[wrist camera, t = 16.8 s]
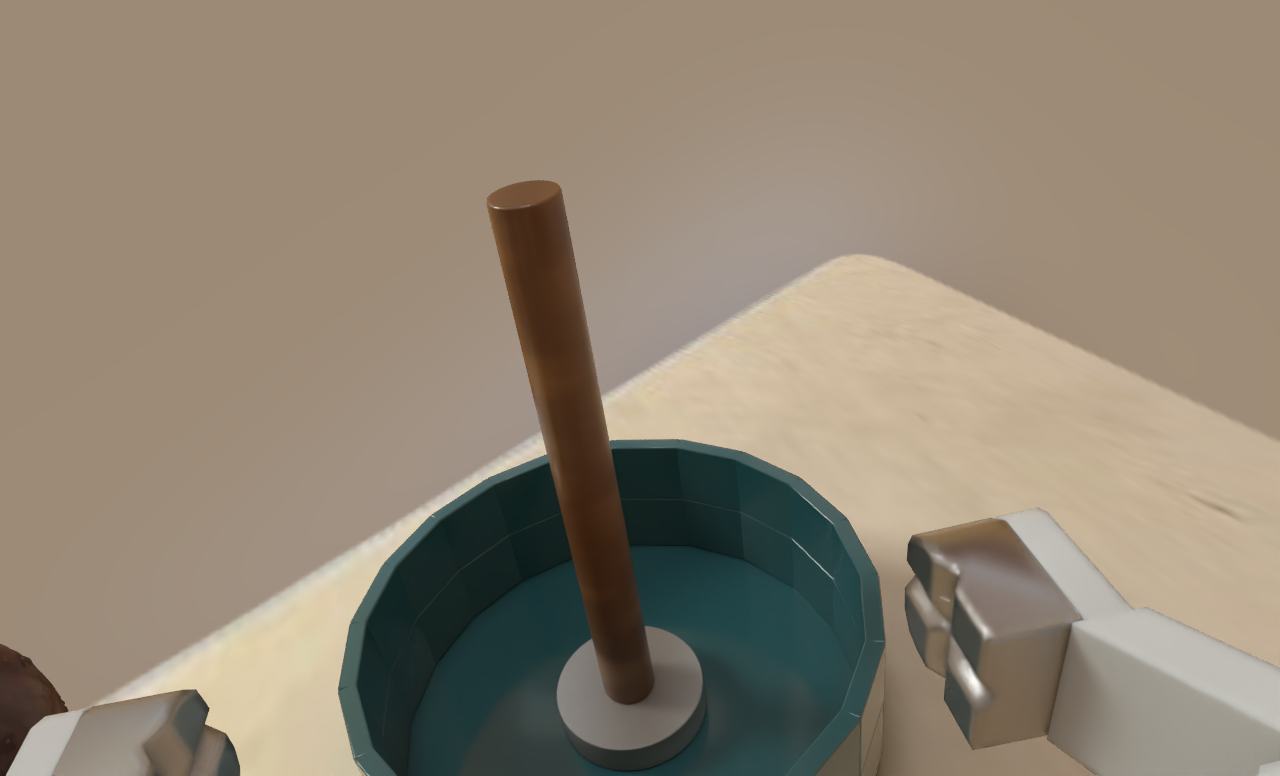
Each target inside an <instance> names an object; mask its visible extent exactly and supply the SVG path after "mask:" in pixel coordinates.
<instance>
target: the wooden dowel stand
mask: <svg viewBox="0 0 1280 776" xmlns="http://www.w3.org/2000/svg"><path fill="white" fill-rule="evenodd" d="M486 204H487V208H488V212H489V216H490V221H491V225H492V229H493V233H494V237H495V241H496V245H497V249H498V254H499V257H500V262H501V266H502V270H503V274H504V278H505V282H506V286H507V291H508V295H509V299H510V303H511V307H512V311H513V315H514V319H515V323H516V328H517V332H518V336H519V340H520V344H521V348H522V352H523V356H524V360H525V365H526V369H527V373H528V377H529V381H530V385H531V389H532V393H533V398H534V402H535V406H536V410H537V414H538V418H539V422H540V426H541V431H542V435H543V439H544V443H545V447H546V451H547V455H548V459H549V463H550V468H551V472H552V476H553V480H554V484H555V488H556V492H557V496H558V500H559V505H560V509H561V513H562V517H563V521H564V525H565V529H566V533H567V538H568V542H569V546H570V550H571V554H572V558H573V562H574V566H575V570H576V575H577V579H578V583H579V587H580V591H581V595H582V599H583V603H584V607H585V612H586V616H587V620H588V624H589V628H590V632H591V636H592V639H591V640H589V641H587V642H586V643H585V644H584V645H582V646H581V647H580V648H579V649H578V650H577V651H576V652H575V653H574V654H573V655H572V656H571V658H570V659H569V660H568V662H567V663H566V665H565V667H564V668H563V671H562V673H561V675H560V678H559V682H558V687H557V704H558V709H559V713H560V716H561V719H562V723H563V726H564V729H565V732H566V735H567V737H568V739H569V741H570V743H571V744H572V745H573V747H574V748H575V749H576V750H577V751H578V752H579V753H580V754H581V755H582V756H583V757H585V758H586V759H588V760H589V761H591V762H593V763H595V764H597V765H599V766H602V767H605V768H608V769H613V770H621V771H634V770H641V769H646V768H650V767H653V766H656V765H659V764H661V763H663V762H665V761H667V760H669V759H671V758H673V757H674V756H675V755H677V754H678V753H679V752H681V751H682V750H683V749H684V748H685V747H686V746H687V745H688V744H689V743H690V742H691V740H692V739H693V738H694V737H695V735H696V733H697V732H698V730H699V728H700V726H701V724H702V721H703V718H704V715H705V709H706V693H705V686H704V679H703V673H702V668H701V665H700V662H699V660H698V658H697V656H696V654H695V653H694V651H693V650H692V649H691V648H690V646H688V645H687V644H686V643H685V642H684V641H683V640H682V639H680V638H679V637H678V636H676V635H674V634H672V633H670V632H668V631H666V630H663V629H659V628H656V627H650V626H645V625H644V620H643V615H642V610H641V604H640V599H639V594H638V589H637V583H636V578H635V573H634V568H633V562H632V557H631V552H630V547H629V541H628V536H627V531H626V526H625V520H624V515H623V510H622V505H621V499H620V494H619V489H618V484H617V478H616V473H615V468H614V463H613V457H612V452H611V447H610V442H609V436H608V431H607V426H606V421H605V415H604V410H603V405H602V400H601V394H600V389H599V384H598V379H597V373H596V368H595V363H594V358H593V353H592V347H591V342H590V337H589V332H588V326H587V321H586V316H585V311H584V305H583V300H582V295H581V290H580V285H579V279H578V274H577V269H576V263H575V258H574V253H573V248H572V242H571V237H570V232H569V227H568V221H567V216H566V211H565V206H564V201H563V195H562V190H561V188H560V186H559V185H558V184H557V183H554V182H551V181H540V180H538V181H526V182H520V183H515V184H512V185H509V186H506V187H503V188H501V189H499V190H497V191H495V192H493V193H492V194H491V195H490V196H489V197H488V198H487V203H486Z"/></svg>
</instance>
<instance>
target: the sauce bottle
mask: <svg viewBox="0 0 1280 776" xmlns="http://www.w3.org/2000/svg"><path fill="white" fill-rule="evenodd" d="M64 704H65V702H64V701H63V700H61V697H60V696H59V694H58V693H57V691H56V690H55V688H54V687H53V685H52V684H51V683H50V681H49V680H48V679H47V678H46V677H45V676H44V675H43V674H42V673H41V672H40V671H39V670H38V669H37V668H36V667H35V665H34V664H33V663H32V661H31V659H30V658H28V657H25V656H22V655H21V654H20V653H18V652H16V651H14V650H12V649H10V648H8V647H6V646H4V645H2V644H0V776H6V774H7V772H8V770H9V768H10V767H11V765H12V763H13V761H14V759H15V757H16V755H17V753H18V751H19V750H20V748H21V746H22V744H23V742H24V740H25V738H26V736H27V734H28V733H29V731H30V729H31V728H32V727H33V726H35V725H36V724H37V723H38V722H39V721H40V720H42V719H43V718H44V717H45V716H49V715H55V714H60V713H65V712H68V709H67V707H66V706H65V705H64Z"/></svg>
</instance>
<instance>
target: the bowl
mask: <svg viewBox="0 0 1280 776" xmlns="http://www.w3.org/2000/svg"><path fill="white" fill-rule="evenodd" d="M609 442H610V447H611V452H612V457H613V463H614V468H615V473H616V478H617V484H618V489H619V494H620V499H621V505H622V510H623V515H624V520H625V526H626V531H627V536H628V541H629V547H630V552H631V557H632V562H633V568H634V573H635V578H636V583H637V589H638V594H639V599H640V604H641V610H642V615H643V620H644V625H645V626H650V627H656V628H659V629H663V630H666V631H668V632H670V633H672V634H674V635H676V636H678V637H679V638H680V639H682V640H683V641H684V642H685V643H686V644H687V645H688V646H690V648H691V649H692V650H693V651H694V653H695V654H696V656H697V658H698V660H699V662H700V665H701V668H702V673H703V679H704V686H705V693H706V709H705V715H704V718H703V721H702V724H701V726H700V728H699V730H698V732H697V733H696V735H695V737H694V738H693V739H692V740H691V742H690V743H689V744H688V745H687V746H686V747H685V748H684V749H683V750H682V751H681V752H679V753H678V754H677V755H675V756H674V757H673V758H671V759H669V760H667V761H665V762H663V763H661V764H659V765H656V766H653V767H650V768H646V769H641V770H634V771H621V770H613V769H608V768H605V767H602V766H599V765H597V764H595V763H593V762H591V761H589V760H588V759H586V758H585V757H583V756H582V755H581V754H580V753H579V752H578V751H577V750H576V749H575V748H574V747H573V745H572V744H571V743H570V741H569V739H568V737H567V735H566V732H565V729H564V726H563V723H562V719H561V716H560V713H559V709H558V704H557V687H558V682H559V678H560V675H561V673H562V671H563V668H564V667H565V665H566V663H567V662H568V660H569V659H570V658H571V656H572V655H573V654H574V653H575V652H576V651H577V650H578V649H579V648H580V647H581V646H582V645H584V644H585V643H586V642H587V641H589V640H591V639H592V636H591V632H590V628H589V624H588V620H587V616H586V612H585V607H584V603H583V599H582V595H581V591H580V587H579V583H578V579H577V575H576V570H575V566H574V562H573V558H572V554H571V550H570V546H569V542H568V538H567V533H566V529H565V525H564V521H563V517H562V513H561V509H560V505H559V500H558V496H557V492H556V488H555V484H554V480H553V476H552V472H551V468H550V463H549V459H548V455H547V454H546V455H544V456H541V457H539V458H536V459H534V460H531V461H529V462H526V463H524V464H521V465H519V466H517V467H514V468H512V469H509V470H507V471H504V472H502V473H499V474H497V475H494V476H492V477H489V478H488V479H486V480H484V481H483V482H481V483H480V484H478V485H476V486H475V487H473V488H472V489H470V490H469V491H467V492H466V493H464V494H463V495H461V496H460V497H458V498H457V499H455V500H453V501H452V502H450V503H449V504H447V505H446V506H444V507H443V508H441V509H440V510H438V511H437V512H435V513H434V514H432V515H431V516H430V517H429V518H428V519H427V520H426V521H425V522H424V523H423V524H422V525H421V526H420V527H419V528H418V529H417V530H416V531H415V532H414V533H413V534H412V535H411V536H410V537H409V538H408V539H407V540H406V541H405V542H404V543H403V544H402V545H401V546H400V547H399V548H398V549H397V550H396V551H395V552H394V553H393V554H392V555H391V556H390V557H389V558H388V560H387V561H386V562H385V563H384V565H382V567H381V569H380V570H379V572H378V574H377V576H376V578H375V579H374V581H373V583H372V585H371V586H370V588H369V590H368V592H367V594H366V595H365V597H364V599H363V601H362V603H361V604H360V606H359V608H358V610H357V612H356V613H355V615H354V617H353V619H352V621H351V624H350V626H349V631H348V637H347V642H346V648H345V654H344V659H343V665H342V670H341V676H340V682H339V687H338V695H339V699H340V704H341V708H342V712H343V716H344V720H345V725H346V729H347V733H348V737H349V742H350V746H351V750H352V754H353V758H354V761H355V763H356V765H357V767H358V769H359V771H360V773H361V774H362V776H876V775H877V767H878V764H879V761H880V757H881V753H882V731H883V704H884V699H883V698H884V676H885V649H886V640H885V630H884V620H883V610H882V600H881V591H880V581H879V576H878V573H877V571H876V569H875V567H874V566H873V564H872V562H871V560H870V558H869V557H868V555H867V553H866V551H865V549H864V547H863V546H862V544H861V542H860V540H859V538H858V537H857V535H856V533H855V531H854V529H853V528H852V526H851V524H850V522H849V520H848V519H847V517H845V516H844V515H843V514H842V513H841V512H840V511H838V510H837V509H836V508H835V507H834V506H833V505H832V504H830V503H829V502H828V501H827V500H826V499H825V498H823V497H822V496H821V495H820V494H819V493H818V492H817V491H815V490H814V489H813V488H812V487H811V486H810V485H808V484H807V483H806V482H805V481H804V480H803V479H802V478H800V477H798V476H796V475H794V474H792V473H789V472H787V471H785V470H783V469H781V468H778V467H776V466H774V465H772V464H770V463H768V462H765V461H763V460H761V459H759V458H757V457H754V456H752V455H750V454H748V453H746V452H742V451H738V450H733V449H728V448H723V447H718V446H713V445H707V444H702V443H697V442H692V441H687V440H679V439H663V440H612V441H609Z"/></svg>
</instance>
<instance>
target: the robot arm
mask: <svg viewBox="0 0 1280 776" xmlns="http://www.w3.org/2000/svg"><path fill="white" fill-rule="evenodd" d="M907 561H908V563H909V565H910V566H911V568H912V570H913V571H914V573H915V576H914V577H913V579H912V580H911V581H910V582H909V584H908V585H907V586H906V587H905V611H906V616H907V621H908V626H909V631H910V633H911V636H912V638H913V641H914V644H915V646H916V649H917V651H918V652H919V654H920V656H921V658H922V660H923V662H924V664H925V666H926V667H927V668H929V669H931V670H932V671H934V672H936V673H937V674H939V675H941V676H942V677H944V678H946V683H945V693H944V700H945V702H946V704H947V706H948V707H949V709H950V711H951V713H952V715H953V716H954V718H955V720H956V722H957V723H958V725H959V727H960V729H961V731H962V732H963V734H964V736H965V738H966V740H967V741H968V743H969V745H970V747H971V748H972V750H975V749H980V748H986V747H991V746H996V745H1001V744H1006V743H1011V742H1016V741H1021V740H1026V739H1031V738H1036V737H1041V736H1046V735H1048V737H1047V740H1049V741H1050V742H1051V743H1053V744H1054V745H1055V746H1057V747H1058V748H1060V749H1061V750H1062V751H1064V752H1065V753H1066V754H1068V755H1069V756H1071V757H1072V758H1073V759H1075V760H1076V761H1077V762H1079V763H1080V764H1082V765H1083V766H1084V767H1086V768H1087V769H1088V770H1090V771H1091V772H1093V773H1094V774H1095V775H1097V776H1280V668H1279V667H1277V666H1274V665H1272V664H1270V663H1268V662H1266V661H1263V660H1261V659H1259V658H1257V657H1255V656H1253V655H1250V654H1248V653H1246V652H1244V651H1242V650H1240V649H1237V648H1235V647H1233V646H1231V645H1229V644H1226V643H1224V642H1222V641H1220V640H1218V639H1216V638H1213V637H1211V636H1209V635H1207V634H1205V633H1203V632H1200V631H1198V630H1196V629H1194V628H1192V627H1189V626H1187V625H1185V624H1183V623H1181V622H1179V621H1176V620H1174V619H1172V618H1170V617H1168V616H1165V615H1163V614H1161V613H1159V612H1157V611H1155V610H1152V609H1150V608H1148V607H1144V608H1139V609H1133V608H1132V607H1131V606H1130V605H1129V603H1128V602H1127V601H1126V600H1125V599H1124V598H1123V597H1122V596H1121V594H1120V593H1119V592H1118V591H1117V590H1116V589H1115V588H1114V587H1113V585H1112V584H1111V583H1110V582H1109V581H1108V580H1107V579H1106V578H1105V576H1104V575H1103V574H1102V573H1101V572H1100V571H1099V570H1098V568H1097V567H1096V566H1095V565H1094V564H1093V563H1092V562H1091V561H1090V559H1089V558H1088V557H1087V556H1086V555H1085V554H1084V553H1083V552H1082V550H1081V549H1080V548H1079V547H1078V546H1077V545H1076V544H1075V542H1074V541H1073V540H1072V539H1071V538H1070V537H1069V536H1068V535H1067V533H1066V532H1065V531H1064V530H1063V529H1062V528H1061V527H1060V526H1059V524H1058V523H1057V522H1056V521H1055V520H1054V519H1053V518H1052V516H1051V515H1050V514H1049V513H1048V512H1046V511H1044V510H1042V509H1040V508H1034V509H1030V510H1025V511H1021V512H1016V513H1012V514H1007V515H1002V516H998V517H996V518H988V519H983V520H979V521H974V522H970V523H965V524H961V525H956V526H952V527H947V528H943V529H938V530H934V531H929V532H925V533H920V534H916V535H912V537H911V539H910V541H909V543H908V552H907ZM209 709H210V708H209V707H208V705H207V704H206V703H205V701H204V700H203V699H202V697H201V696H200V695H199V693H198V692H197V690H180V691H174V692H169V693H163V694H158V695H153V696H147V697H142V698H137V699H131V700H126V701H120V702H115V703H110V704H104V705H99V706H93V707H92V708H87V709H81V710H76V711H71V712H65V713H60V714H55V715H49V716H45V717H44V718H43V719H42V720H40V721H39V722H38V723H37V724H36V725H35V726H33V727H32V728H31V729H30V731H29V733H28V734H27V736H26V738H25V740H24V742H23V744H22V746H21V748H20V750H19V751H18V753H17V755H16V757H15V759H14V761H13V763H12V765H11V767H10V768H9V770H8V772H7V774H6V776H240V765H239V761H238V758H237V755H236V751H235V748H234V746H233V744H232V743H231V741H230V739H229V738H228V736H227V735H226V733H224V732H221V731H219V730H217V729H214V728H212V727H210V726H208V725H205V721H206V718H207V715H208V712H209Z"/></svg>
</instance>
